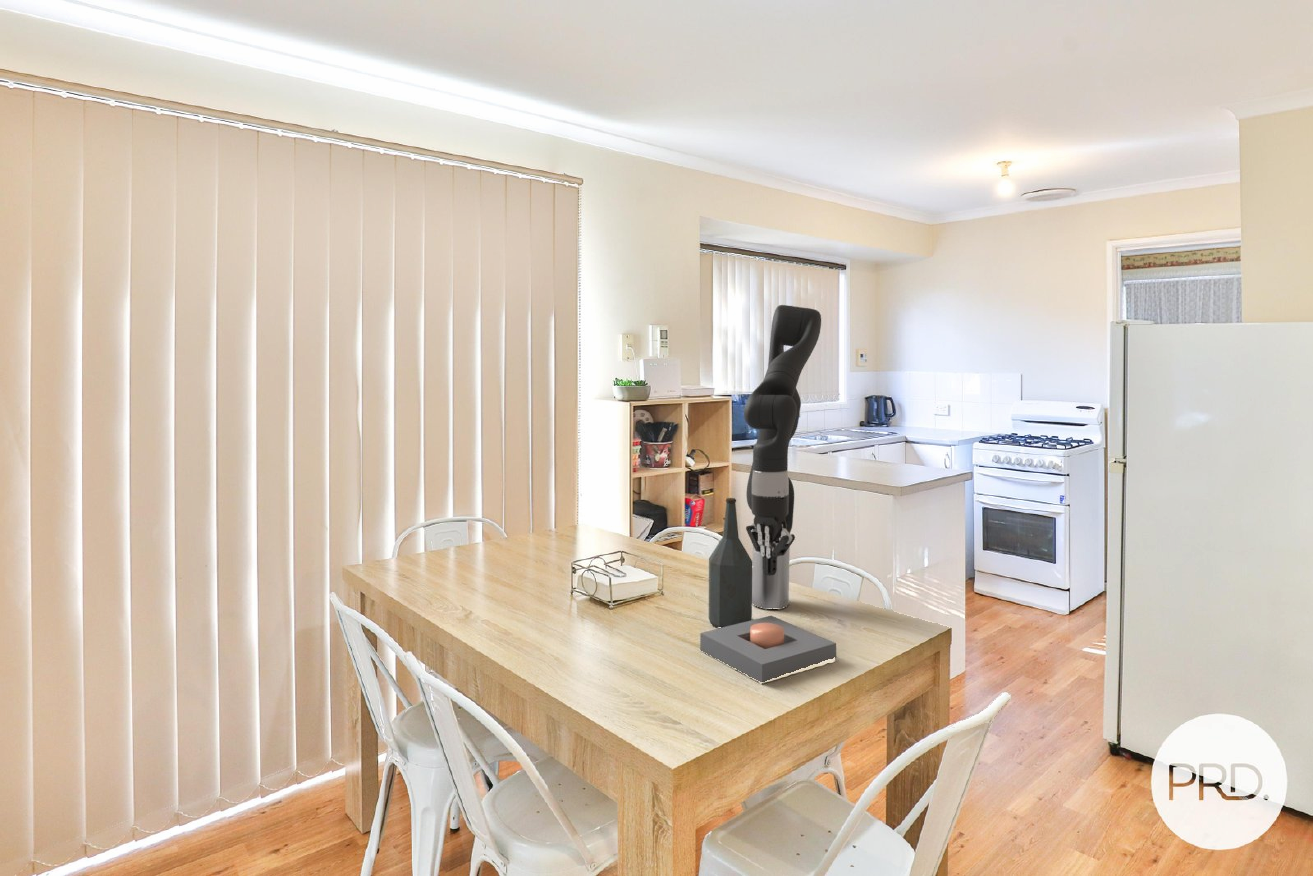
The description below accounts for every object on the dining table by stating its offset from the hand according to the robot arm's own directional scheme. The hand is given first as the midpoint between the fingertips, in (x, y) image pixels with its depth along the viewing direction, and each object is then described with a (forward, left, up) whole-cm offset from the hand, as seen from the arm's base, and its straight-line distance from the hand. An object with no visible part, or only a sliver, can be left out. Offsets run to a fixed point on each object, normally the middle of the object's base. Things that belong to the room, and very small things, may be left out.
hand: (769, 574), depth 157 cm
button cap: (0, 0, -16) cm, 16 cm away
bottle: (-20, +6, -18) cm, 28 cm away
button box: (0, 0, -18) cm, 18 cm away
